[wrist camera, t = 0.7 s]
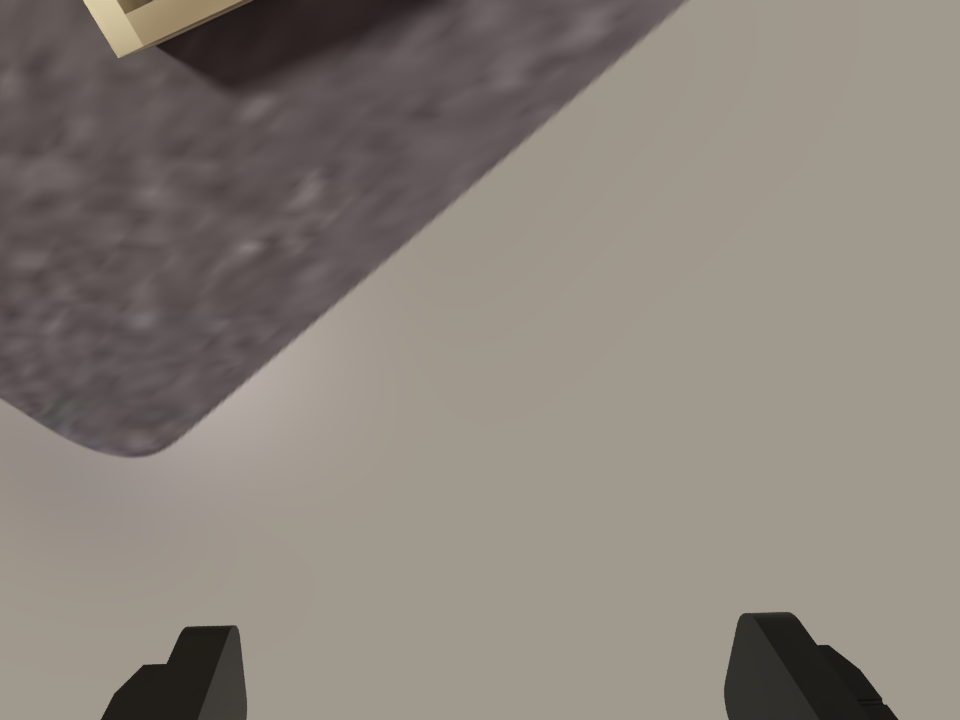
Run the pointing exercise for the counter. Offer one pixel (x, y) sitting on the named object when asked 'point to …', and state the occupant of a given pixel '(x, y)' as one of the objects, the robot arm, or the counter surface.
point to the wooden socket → (153, 20)
